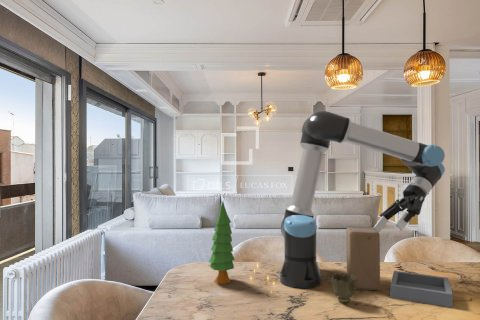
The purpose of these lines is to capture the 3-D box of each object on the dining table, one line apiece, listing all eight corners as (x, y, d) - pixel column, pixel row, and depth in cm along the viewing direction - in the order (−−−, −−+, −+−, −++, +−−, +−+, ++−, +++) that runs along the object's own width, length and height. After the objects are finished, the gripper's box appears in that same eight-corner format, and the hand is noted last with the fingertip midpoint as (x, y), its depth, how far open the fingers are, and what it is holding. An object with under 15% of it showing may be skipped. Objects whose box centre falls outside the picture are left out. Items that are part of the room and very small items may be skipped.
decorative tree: (218, 287, 118) (218, 201, 119) (203, 280, 125) (203, 199, 126) (240, 281, 124) (239, 199, 125) (224, 274, 131) (224, 198, 132)
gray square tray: (390, 297, 108) (390, 285, 108) (394, 281, 123) (393, 270, 123) (452, 307, 100) (452, 294, 100) (448, 289, 115) (448, 277, 115)
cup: (353, 308, 100) (353, 281, 100) (328, 303, 104) (328, 277, 104) (359, 300, 106) (358, 274, 106) (335, 295, 110) (335, 271, 110)
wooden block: (380, 291, 113) (380, 232, 114) (349, 289, 115) (349, 231, 116) (375, 281, 123) (374, 227, 123) (346, 279, 125) (346, 226, 125)
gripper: (448, 192, 120) (417, 234, 113) (402, 202, 143) (374, 237, 136) (433, 177, 120) (402, 218, 113) (390, 189, 144) (361, 224, 137)
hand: (386, 229), depth 125 cm, fingers open, 13 cm apart
